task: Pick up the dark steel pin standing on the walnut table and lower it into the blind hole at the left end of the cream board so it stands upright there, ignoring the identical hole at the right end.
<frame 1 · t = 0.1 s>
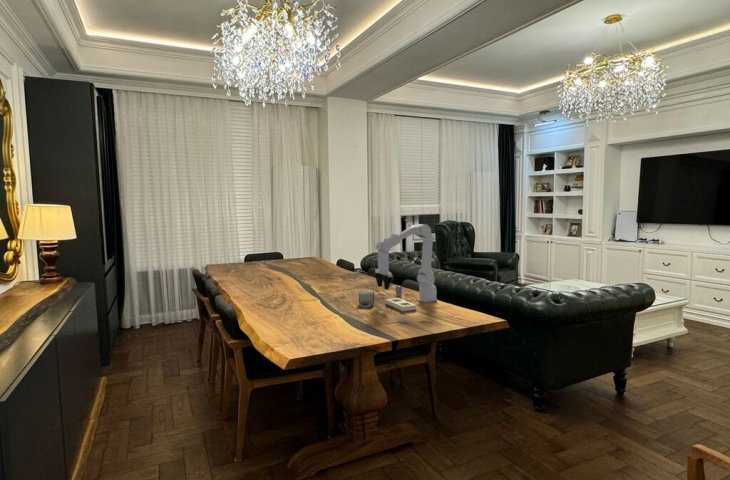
hand: (383, 287, 229), 10 cm above the table, tool pointing down, fingers open, 7 cm apart
pin: (398, 300, 243), on the table
ceramic mug: (366, 306, 230), on the table
board: (400, 307, 226), on the table
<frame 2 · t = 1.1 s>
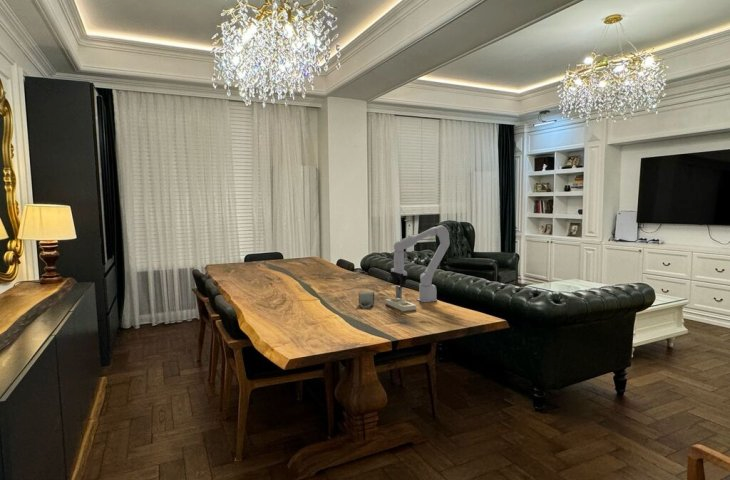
hand: (398, 285, 242), 8 cm above the table, tool pointing down, fingers open, 7 cm apart
nothing on the table moved.
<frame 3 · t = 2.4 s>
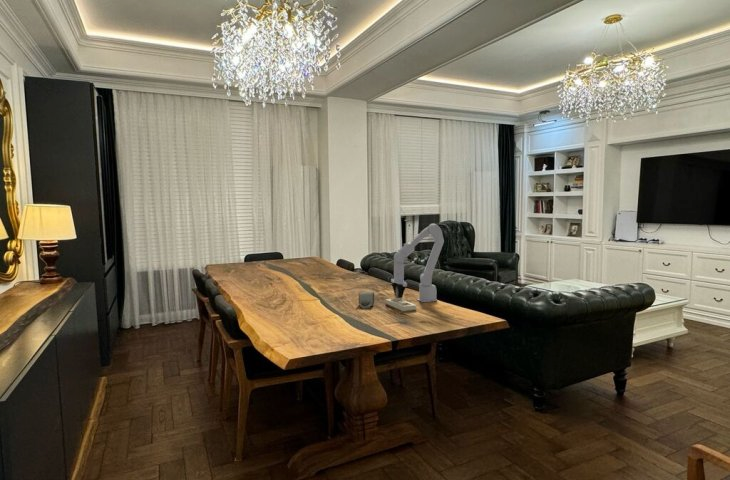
hand: (398, 296, 243), 2 cm above the table, tool pointing down, fingers closed on pin, 3 cm apart
pin: (398, 300, 243), on the table, touching gripper
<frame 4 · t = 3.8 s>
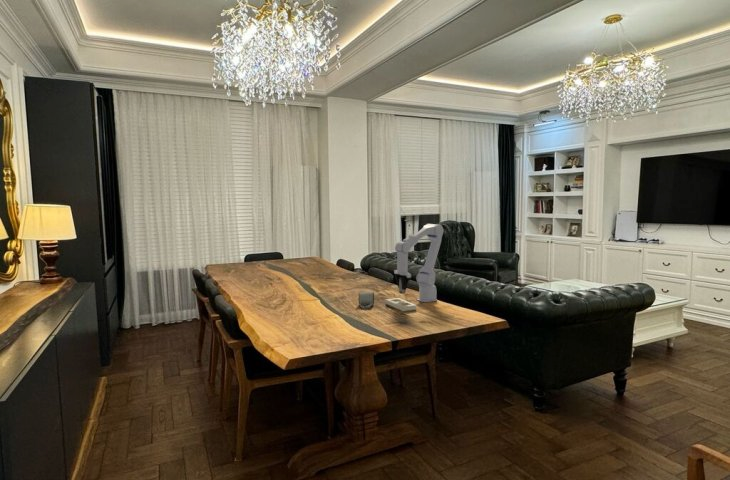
hand: (402, 288, 230), 9 cm above the table, tool pointing down, fingers closed on pin, 3 cm apart
pin: (402, 292, 230), point 7 cm above the table, touching gripper
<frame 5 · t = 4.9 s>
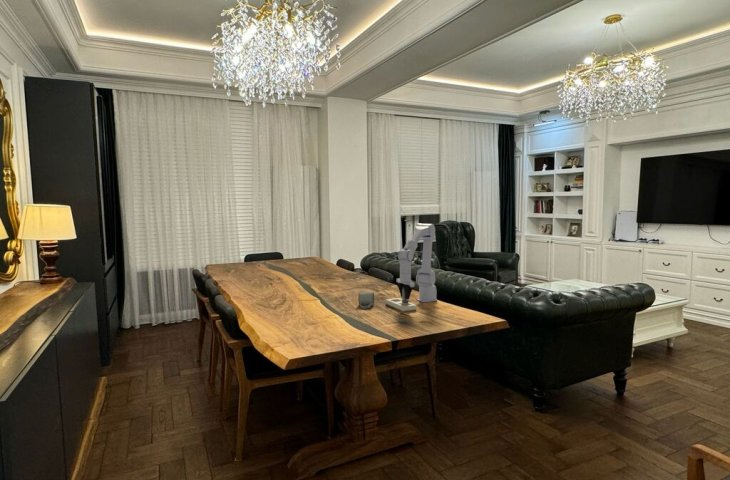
hand: (405, 298, 222), 6 cm above the table, tool pointing down, fingers closed on pin, 3 cm apart
pin: (405, 302, 222), point 4 cm above the table, touching gripper
when the fingers open (4 cm above the table, at t = 5.7 s): pin stays where it is, resting on board.
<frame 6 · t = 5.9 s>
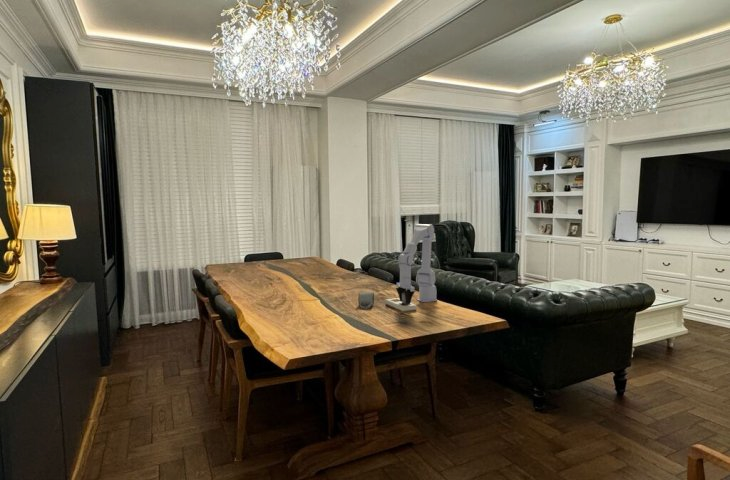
hand: (405, 302, 222), 4 cm above the table, tool pointing down, fingers open, 5 cm apart
pin: (405, 308, 222), point 1 cm above the table, touching board
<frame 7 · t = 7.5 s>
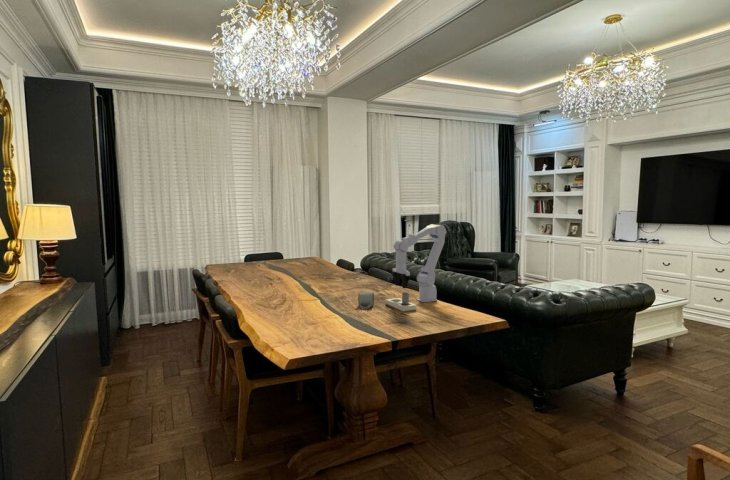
hand: (400, 286, 233), 10 cm above the table, tool pointing down, fingers open, 7 cm apart
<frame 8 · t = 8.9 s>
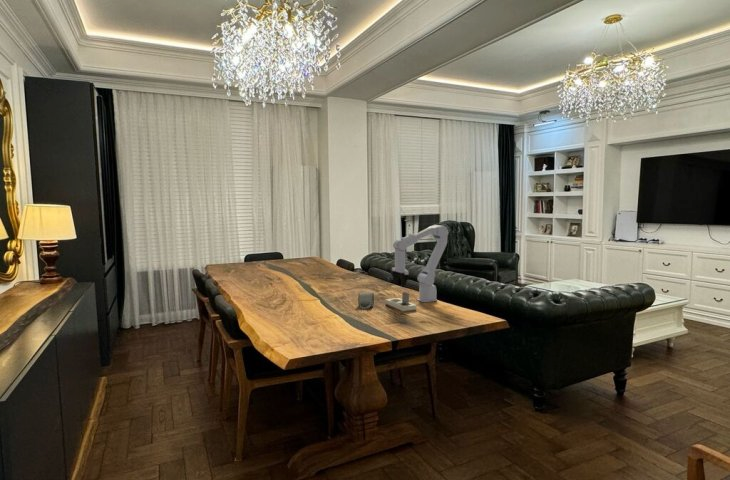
hand: (399, 285, 235), 10 cm above the table, tool pointing down, fingers open, 7 cm apart
at the end: pin 0.2 cm from the target spot on the board, point 0.8 cm above the board's base; pin tilted 1°; the gripper is holding nothing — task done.
